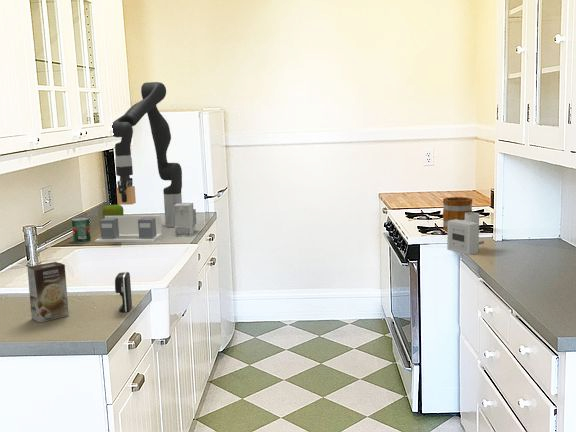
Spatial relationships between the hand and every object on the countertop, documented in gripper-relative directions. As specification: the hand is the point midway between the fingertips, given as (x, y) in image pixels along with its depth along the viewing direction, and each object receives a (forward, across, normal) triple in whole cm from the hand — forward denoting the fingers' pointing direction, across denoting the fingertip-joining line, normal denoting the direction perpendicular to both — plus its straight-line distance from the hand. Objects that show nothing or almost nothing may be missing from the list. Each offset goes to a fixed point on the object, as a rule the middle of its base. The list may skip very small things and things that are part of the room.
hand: (126, 201), depth 301 cm
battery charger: (+19, +104, +36) cm, 112 cm away
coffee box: (+19, +112, +16) cm, 115 cm away
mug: (+19, -19, +155) cm, 157 cm away
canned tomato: (+19, +3, -22) cm, 29 cm away
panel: (+19, -2, -1) cm, 19 cm away
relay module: (+1, 0, 0) cm, 1 cm away
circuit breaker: (+19, -15, +24) cm, 34 cm away
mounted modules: (+17, 0, 0) cm, 17 cm away
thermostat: (+19, +25, +154) cm, 157 cm away
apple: (+19, -45, -25) cm, 55 cm away
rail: (+19, 0, -1) cm, 19 cm away
